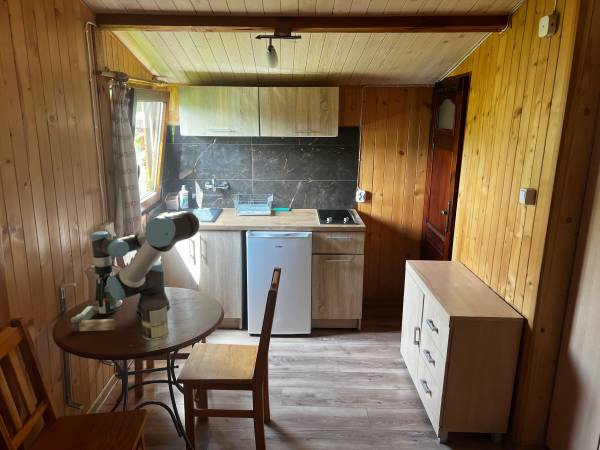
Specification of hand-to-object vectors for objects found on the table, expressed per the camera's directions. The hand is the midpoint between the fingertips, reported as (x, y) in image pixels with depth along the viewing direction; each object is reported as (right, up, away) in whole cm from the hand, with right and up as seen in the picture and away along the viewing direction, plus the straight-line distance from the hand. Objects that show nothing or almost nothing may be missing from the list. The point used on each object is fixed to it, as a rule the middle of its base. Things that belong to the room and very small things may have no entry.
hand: (107, 307), depth 207 cm
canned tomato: (0, -2, 0) cm, 2 cm away
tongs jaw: (-5, -4, -13) cm, 15 cm away
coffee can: (+31, -7, -24) cm, 40 cm away
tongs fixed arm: (+3, -6, -19) cm, 20 cm away
